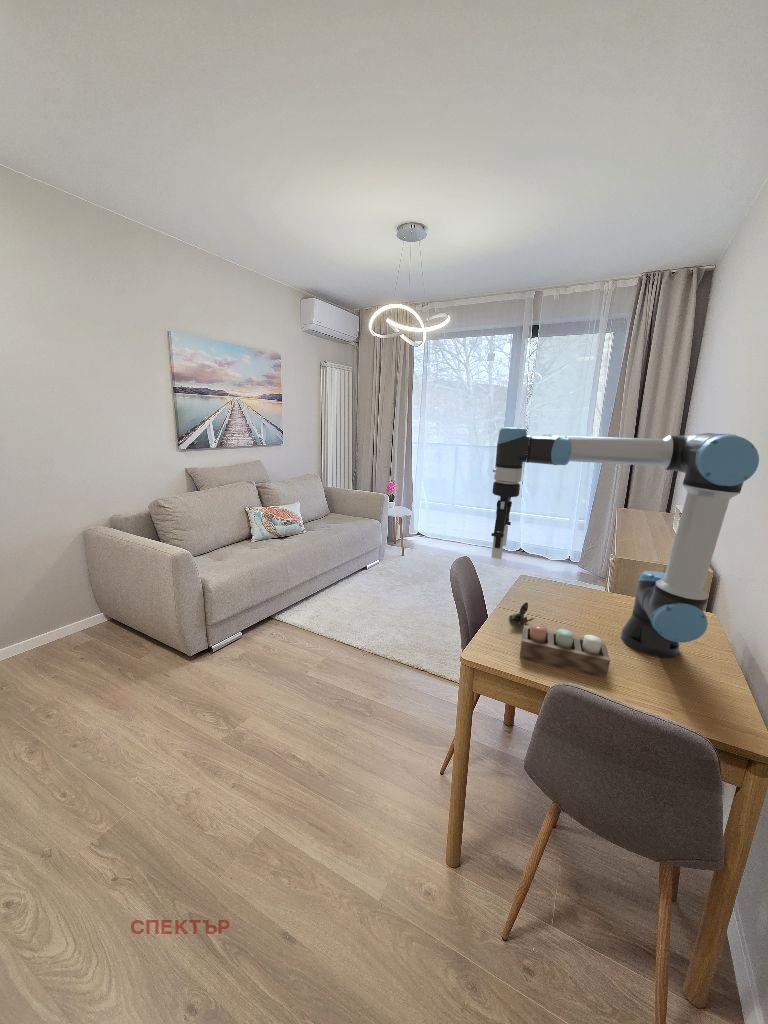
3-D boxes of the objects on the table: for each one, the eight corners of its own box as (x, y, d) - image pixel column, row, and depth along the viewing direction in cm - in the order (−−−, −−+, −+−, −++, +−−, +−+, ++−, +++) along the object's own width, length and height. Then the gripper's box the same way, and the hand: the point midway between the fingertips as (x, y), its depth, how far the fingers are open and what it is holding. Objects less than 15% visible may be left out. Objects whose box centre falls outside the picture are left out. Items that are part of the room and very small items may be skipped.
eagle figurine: (539, 627, 133) (532, 610, 141) (530, 611, 131) (523, 594, 139) (516, 635, 135) (511, 618, 143) (507, 620, 133) (502, 603, 141)
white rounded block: (597, 652, 116) (600, 636, 115) (599, 661, 112) (602, 644, 111) (580, 649, 117) (583, 633, 116) (581, 657, 113) (584, 640, 112)
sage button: (570, 647, 118) (573, 631, 117) (571, 654, 114) (574, 638, 113) (554, 643, 120) (556, 627, 119) (554, 651, 116) (557, 635, 115)
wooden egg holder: (601, 659, 119) (604, 641, 117) (606, 678, 109) (610, 660, 108) (521, 641, 126) (523, 624, 125) (519, 658, 117) (522, 641, 116)
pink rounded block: (544, 641, 121) (547, 625, 119) (544, 648, 117) (547, 632, 115) (528, 637, 122) (530, 622, 121) (528, 645, 118) (530, 629, 117)
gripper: (498, 475, 132) (491, 538, 137) (488, 486, 110) (480, 562, 114) (522, 477, 130) (515, 542, 135) (517, 489, 107) (508, 566, 112)
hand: (499, 551), depth 125 cm, fingers open, 13 cm apart
